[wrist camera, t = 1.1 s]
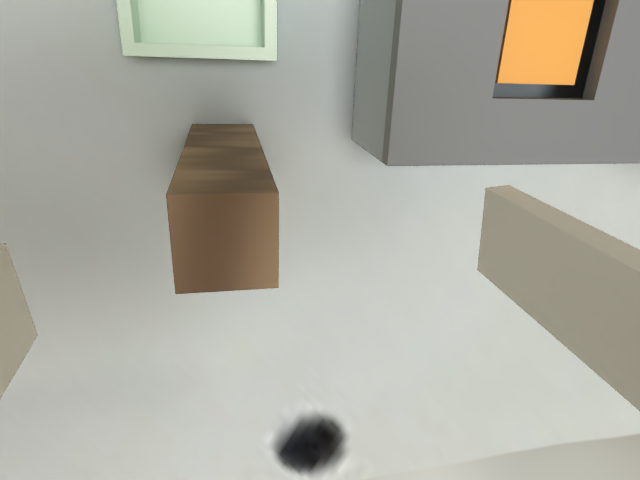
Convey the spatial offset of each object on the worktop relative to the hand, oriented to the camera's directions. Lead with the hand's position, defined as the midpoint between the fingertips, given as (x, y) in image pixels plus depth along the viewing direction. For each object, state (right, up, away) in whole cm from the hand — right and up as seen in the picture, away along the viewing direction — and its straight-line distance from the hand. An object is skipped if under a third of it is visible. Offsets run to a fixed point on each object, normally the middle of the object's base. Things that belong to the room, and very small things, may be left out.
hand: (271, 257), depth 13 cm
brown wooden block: (-5, +6, +19) cm, 21 cm away
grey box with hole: (+13, +15, +19) cm, 27 cm away
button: (+14, +13, +15) cm, 24 cm away
